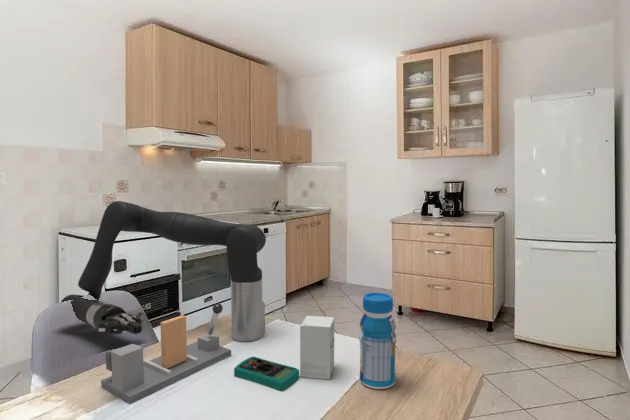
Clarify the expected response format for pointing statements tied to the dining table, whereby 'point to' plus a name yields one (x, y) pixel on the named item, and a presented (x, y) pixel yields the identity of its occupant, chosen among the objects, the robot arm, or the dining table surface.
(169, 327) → the tan upright board
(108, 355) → the push button
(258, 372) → the digital multimeter
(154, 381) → the console
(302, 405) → the dining table surface
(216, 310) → the toggle lever
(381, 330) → the beverage bottle
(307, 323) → the supplement box
